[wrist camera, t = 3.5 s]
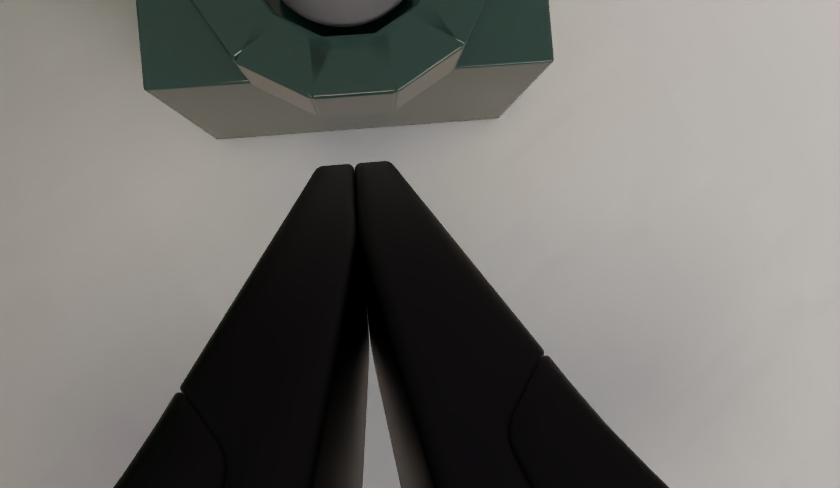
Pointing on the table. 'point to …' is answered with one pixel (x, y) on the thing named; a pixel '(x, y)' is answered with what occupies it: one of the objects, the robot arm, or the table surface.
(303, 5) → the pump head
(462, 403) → the robot arm
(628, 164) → the table surface
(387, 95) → the green button box
